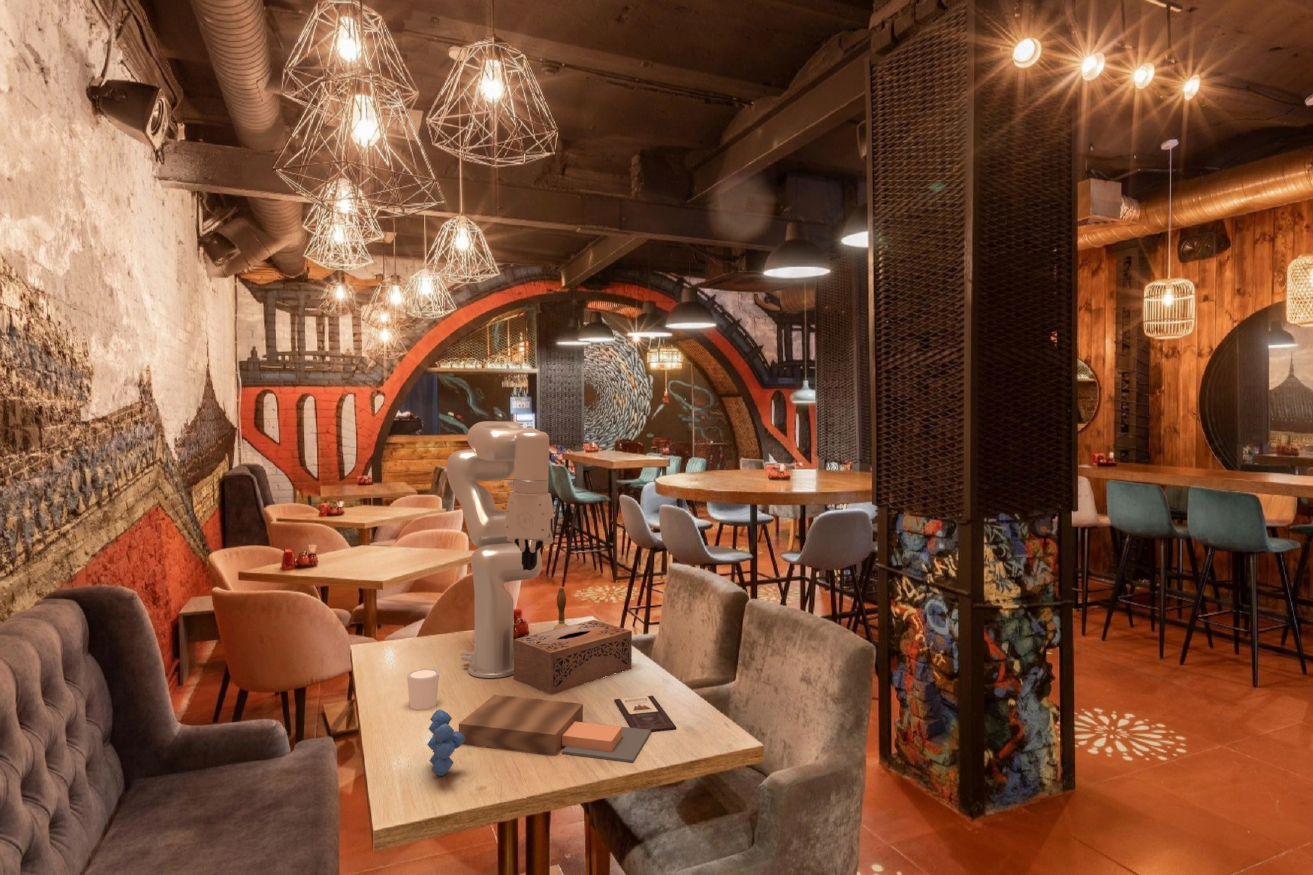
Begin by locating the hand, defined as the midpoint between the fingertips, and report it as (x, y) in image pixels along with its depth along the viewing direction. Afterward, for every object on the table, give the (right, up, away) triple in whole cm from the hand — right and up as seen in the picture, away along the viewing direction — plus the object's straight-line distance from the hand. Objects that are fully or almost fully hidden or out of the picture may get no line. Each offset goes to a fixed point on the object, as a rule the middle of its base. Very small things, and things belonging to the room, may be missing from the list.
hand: (529, 568), depth 172 cm
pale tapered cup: (-23, -30, -1) cm, 38 cm away
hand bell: (+2, -29, +43) cm, 52 cm away
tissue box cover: (+8, -30, +20) cm, 37 cm away
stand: (+1, -31, -16) cm, 34 cm away
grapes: (-9, -31, -34) cm, 47 cm away
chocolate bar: (+26, -31, -5) cm, 41 cm away
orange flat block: (+16, -30, -20) cm, 40 cm away
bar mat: (+19, -31, -20) cm, 41 cm away
